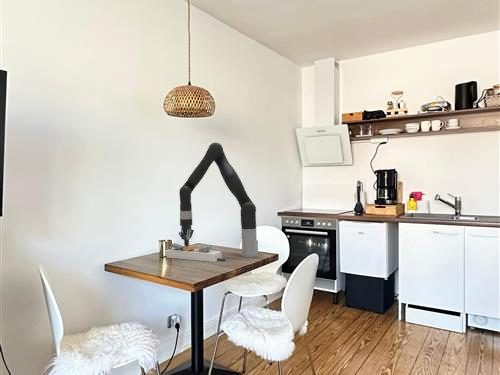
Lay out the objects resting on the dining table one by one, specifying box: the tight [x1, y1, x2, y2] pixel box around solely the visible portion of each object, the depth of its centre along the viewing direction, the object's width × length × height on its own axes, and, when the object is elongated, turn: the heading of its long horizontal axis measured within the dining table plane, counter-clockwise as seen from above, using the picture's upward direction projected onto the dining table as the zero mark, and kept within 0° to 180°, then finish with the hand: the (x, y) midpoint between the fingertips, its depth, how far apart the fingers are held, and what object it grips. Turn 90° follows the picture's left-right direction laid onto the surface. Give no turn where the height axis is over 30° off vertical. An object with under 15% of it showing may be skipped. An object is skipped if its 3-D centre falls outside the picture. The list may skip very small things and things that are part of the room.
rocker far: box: [170, 242, 185, 250], centre depth 227 cm, size 7×4×2 cm, turn 64°
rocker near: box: [198, 245, 213, 252], centre depth 218 cm, size 7×4×2 cm, turn 63°
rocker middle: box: [184, 245, 198, 250], centre depth 223 cm, size 7×4×2 cm, turn 64°
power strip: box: [165, 247, 226, 263], centre depth 222 cm, size 43×9×5 cm, turn 64°
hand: (186, 246), depth 224 cm, fingers closed
